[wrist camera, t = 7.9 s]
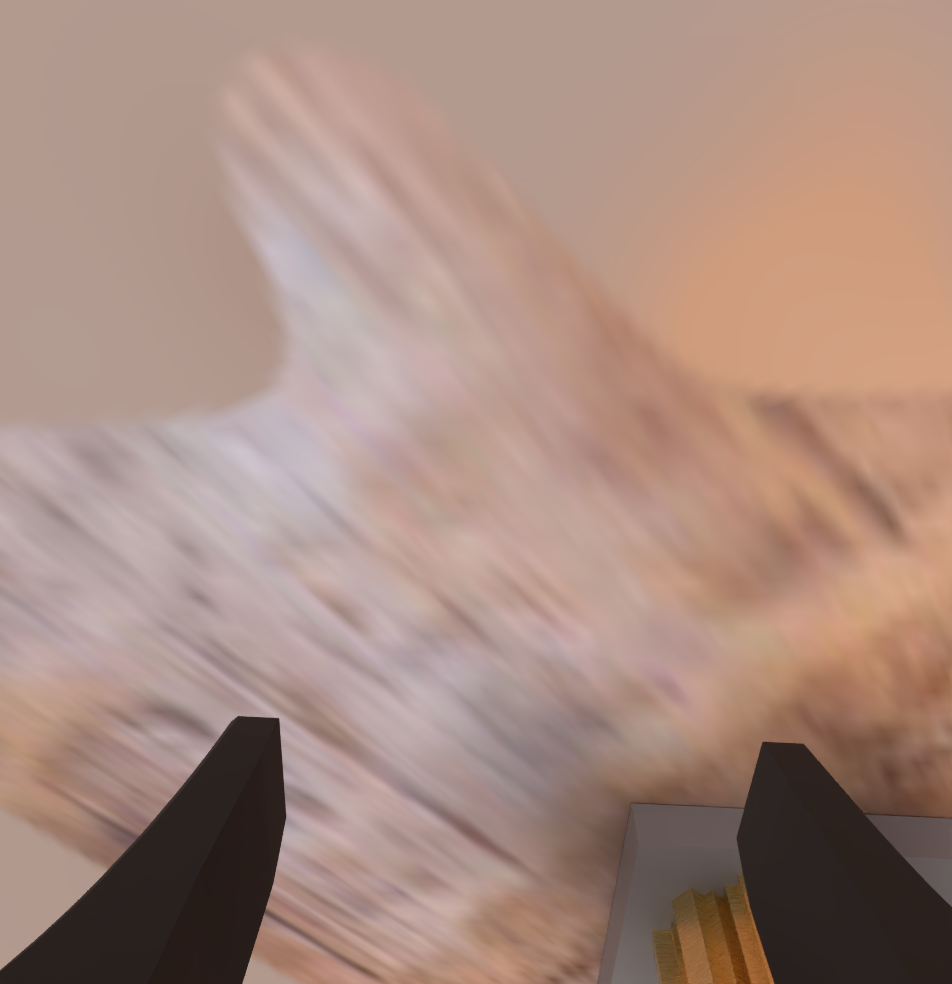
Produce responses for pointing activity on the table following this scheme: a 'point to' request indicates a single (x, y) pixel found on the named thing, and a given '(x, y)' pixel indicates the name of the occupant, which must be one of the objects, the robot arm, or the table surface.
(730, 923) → the brass gear
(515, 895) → the table surface
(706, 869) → the gear board
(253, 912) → the robot arm
